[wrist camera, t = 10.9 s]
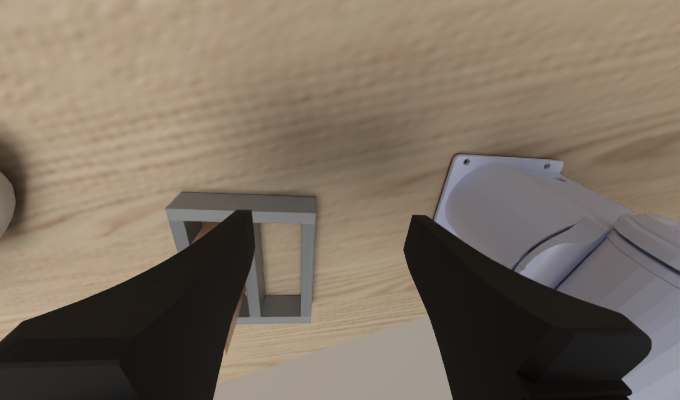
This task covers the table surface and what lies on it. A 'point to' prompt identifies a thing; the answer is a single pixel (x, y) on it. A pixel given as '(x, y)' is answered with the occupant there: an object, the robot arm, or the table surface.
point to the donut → (6, 203)
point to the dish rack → (265, 209)
